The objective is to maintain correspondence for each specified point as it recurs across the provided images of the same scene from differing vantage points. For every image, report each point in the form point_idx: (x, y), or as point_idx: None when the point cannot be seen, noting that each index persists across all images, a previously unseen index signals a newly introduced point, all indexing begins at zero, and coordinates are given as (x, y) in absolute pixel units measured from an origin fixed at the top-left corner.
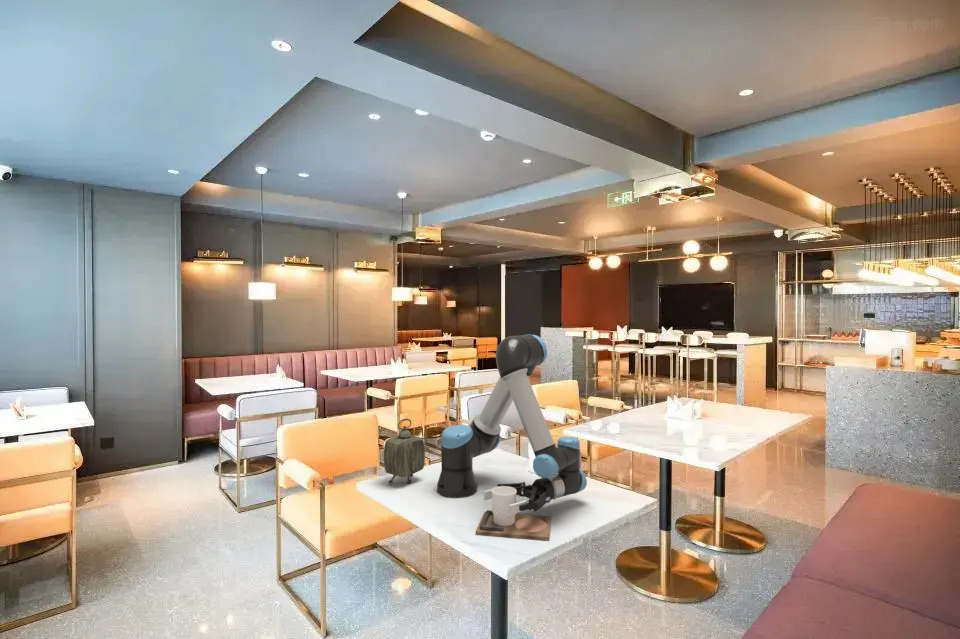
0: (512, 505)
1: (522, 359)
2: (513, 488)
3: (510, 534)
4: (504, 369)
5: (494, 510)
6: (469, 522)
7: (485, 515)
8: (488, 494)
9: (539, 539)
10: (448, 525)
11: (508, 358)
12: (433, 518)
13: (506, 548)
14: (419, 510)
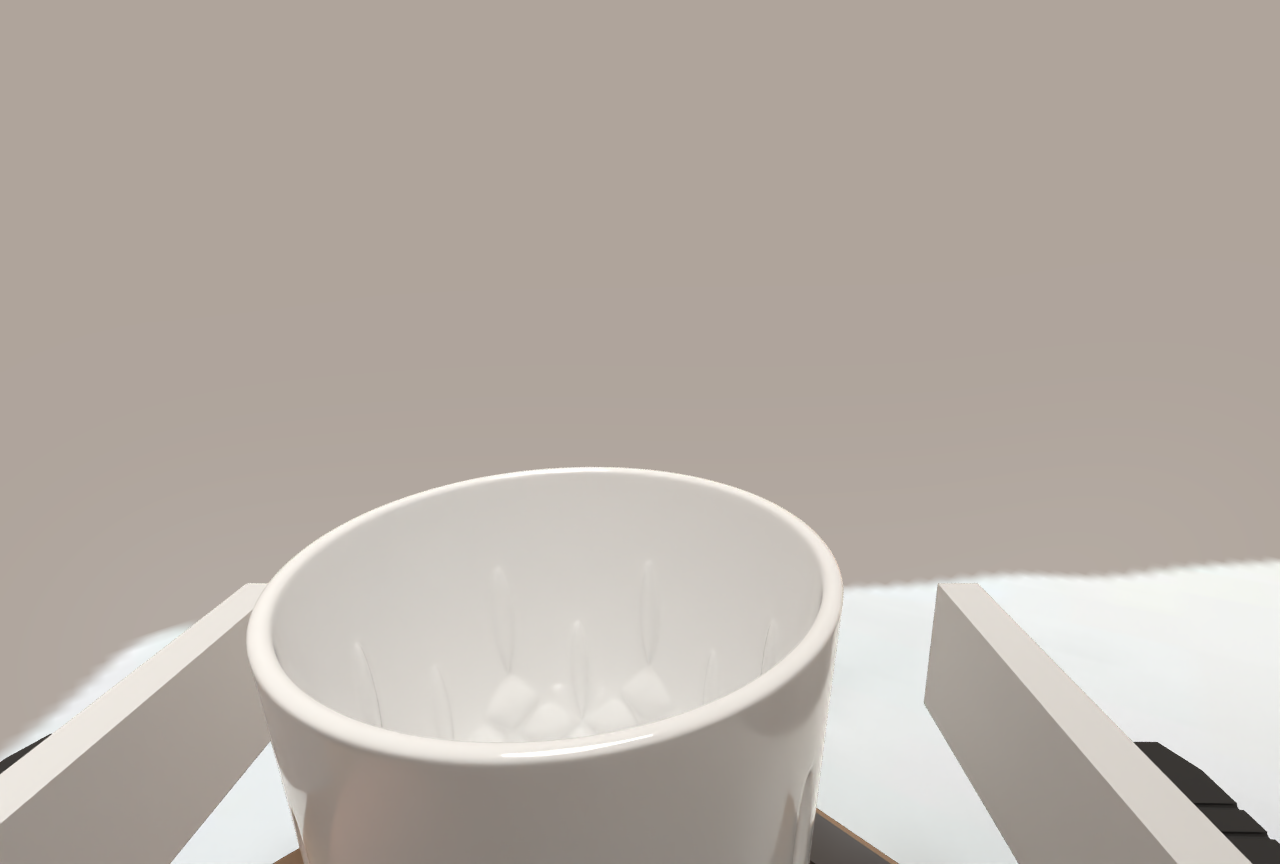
0: (222, 607)
1: None
2: (489, 748)
3: (287, 860)
4: None
5: (614, 714)
6: (869, 759)
7: (830, 834)
8: (962, 677)
9: None
10: (864, 636)
11: None
12: (1025, 617)
13: None
14: (1209, 607)
